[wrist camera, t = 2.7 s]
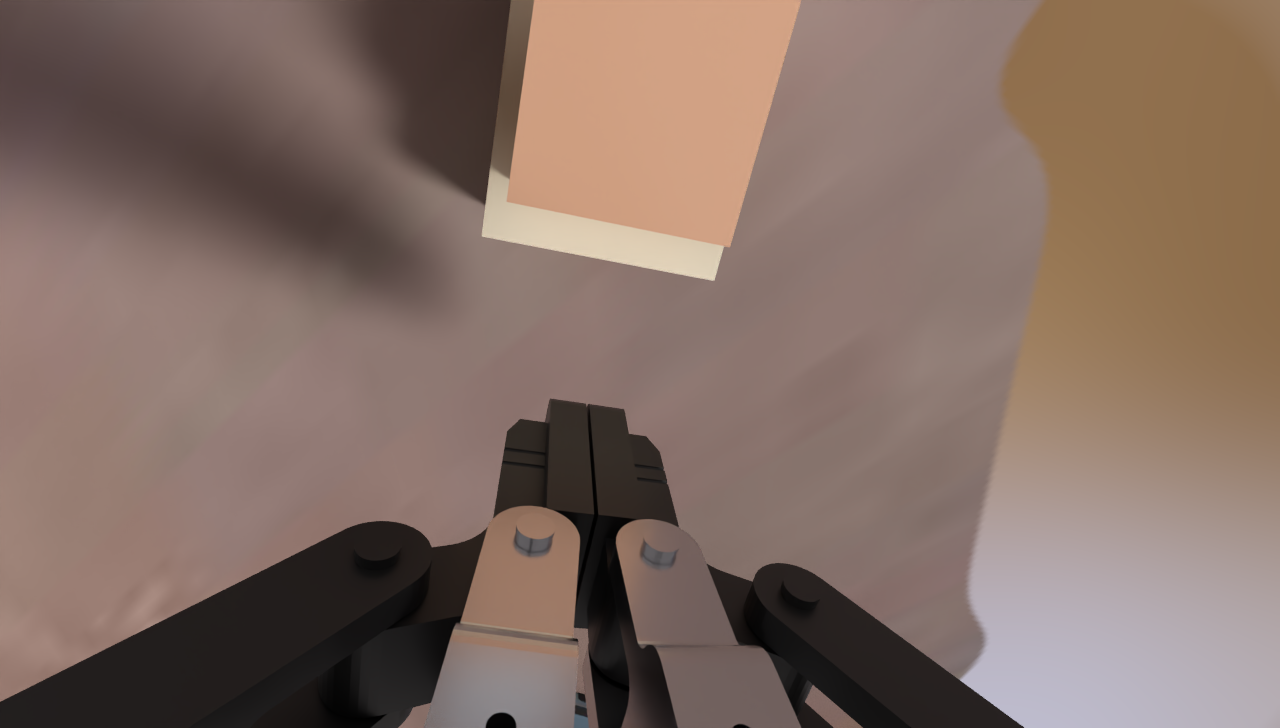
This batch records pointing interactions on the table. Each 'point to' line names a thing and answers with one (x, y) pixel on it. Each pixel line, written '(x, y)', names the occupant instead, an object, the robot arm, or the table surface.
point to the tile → (647, 110)
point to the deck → (564, 228)
